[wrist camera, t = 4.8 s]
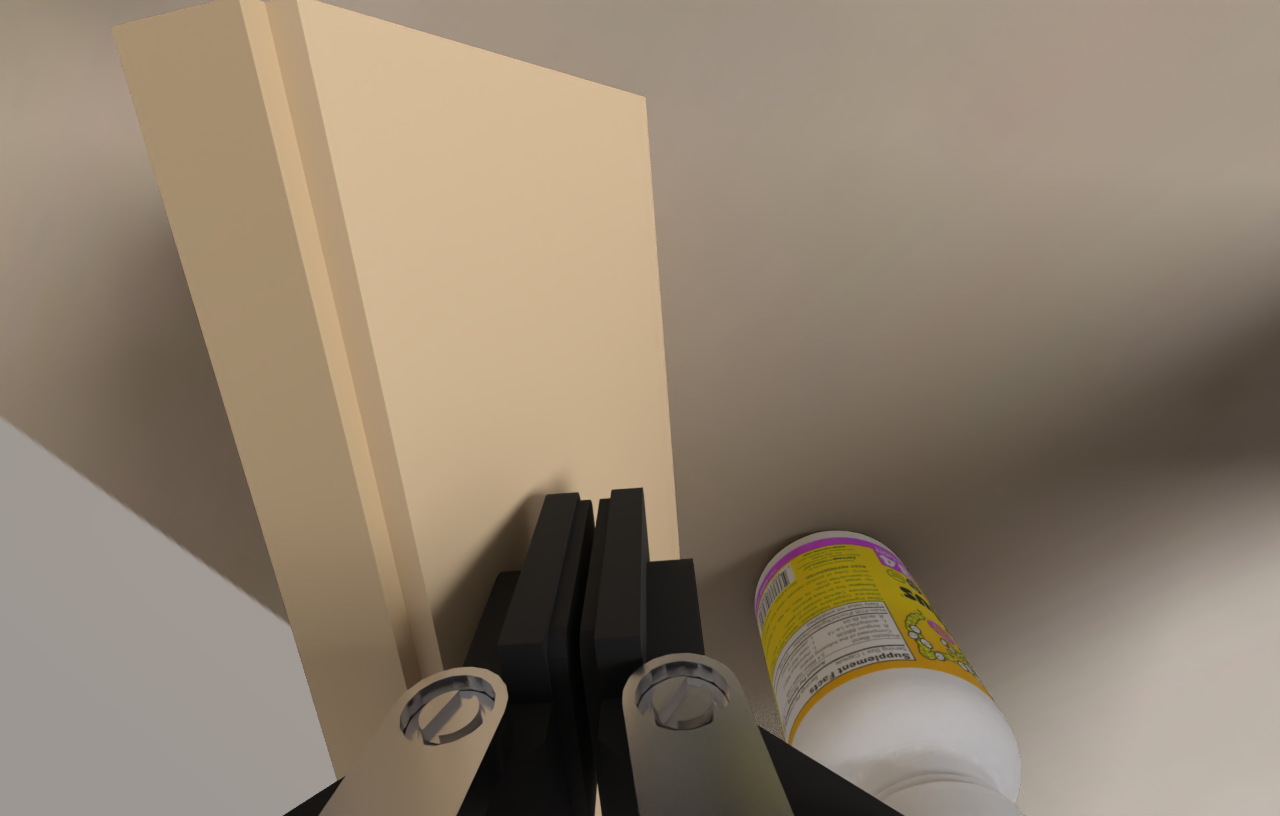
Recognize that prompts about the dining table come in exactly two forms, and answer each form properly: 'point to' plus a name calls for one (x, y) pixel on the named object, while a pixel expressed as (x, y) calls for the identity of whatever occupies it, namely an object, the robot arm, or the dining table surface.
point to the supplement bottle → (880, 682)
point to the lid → (406, 314)
